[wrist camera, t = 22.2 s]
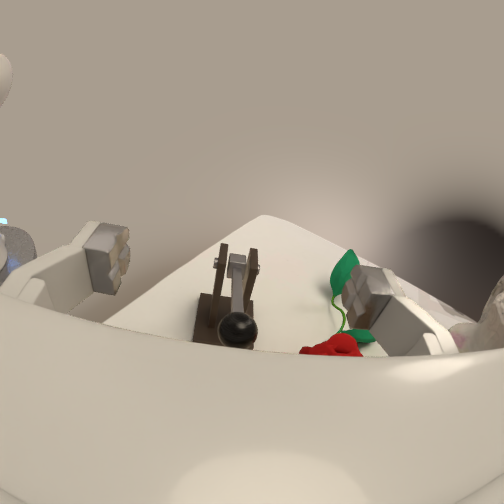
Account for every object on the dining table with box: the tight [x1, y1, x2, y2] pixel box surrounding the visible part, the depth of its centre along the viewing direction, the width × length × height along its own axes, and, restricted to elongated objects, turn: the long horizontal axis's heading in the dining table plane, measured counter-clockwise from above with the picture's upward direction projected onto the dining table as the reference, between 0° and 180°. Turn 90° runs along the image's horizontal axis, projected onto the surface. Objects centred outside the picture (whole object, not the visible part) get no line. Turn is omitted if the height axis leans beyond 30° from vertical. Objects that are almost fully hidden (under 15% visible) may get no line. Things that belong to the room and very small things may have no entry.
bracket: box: [193, 243, 260, 350], centre depth 41 cm, size 10×9×14 cm
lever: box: [218, 253, 258, 349], centre depth 32 cm, size 17×4×4 cm, turn 0°
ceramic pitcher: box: [447, 276, 504, 353], centre depth 32 cm, size 22×20×25 cm
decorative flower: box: [299, 249, 376, 357], centre depth 45 cm, size 14×30×10 cm, turn 154°
